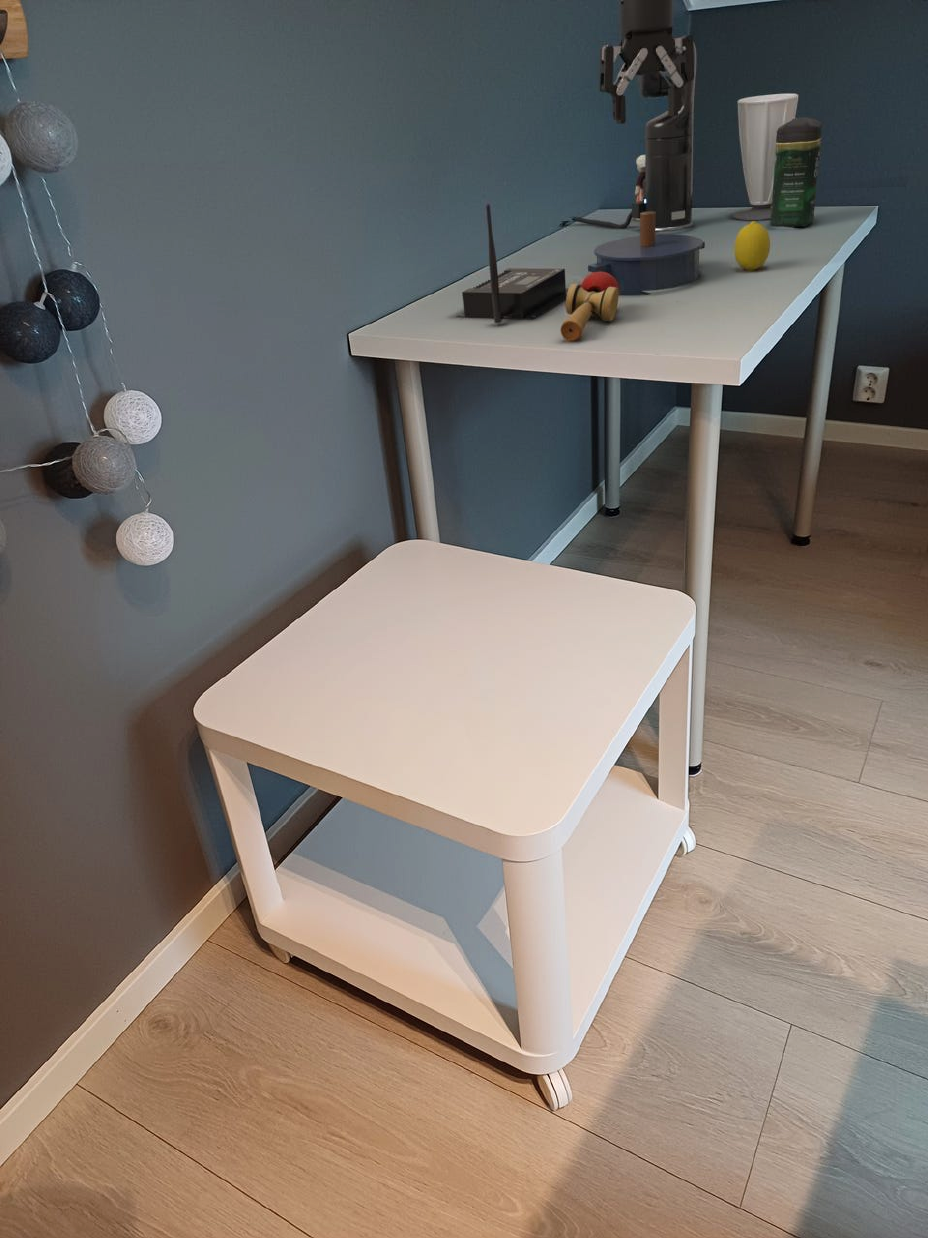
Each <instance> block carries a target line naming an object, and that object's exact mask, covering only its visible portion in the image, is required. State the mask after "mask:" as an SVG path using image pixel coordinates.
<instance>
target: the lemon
mask: <svg viewBox="0 0 928 1238" xmlns="http://www.w3.org/2000/svg"><path fill="white" fill-rule="evenodd" d="M770 250H771V240H770V234H769V232H768V230H767V229H766V227H764V226H763V225H762V224H760V223H757V220H751V221H750V222H749V224H745V225H744V226H743V227H742V228H741V229H740V231H738V233H737V235H736V238H735V242H734V249H733V251H734V259H735V261H736V263H737V265H738V266H739V267H740V268H742V269H744V270H746V271H748V272H753V271H756V270H757V269H758V268H761V267H762V266H763V265H764V264H765V263H766V262H767V260H768V257H769V255H770V252H771V251H770Z"/></svg>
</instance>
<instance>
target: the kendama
mask: <svg viewBox="0 0 928 1238" xmlns="http://www.w3.org/2000/svg"><path fill="white" fill-rule="evenodd" d="M566 293H567V295H566V296H567V298H566V300H565V311H566V313H567V315H569V317H568V318H566V320H565V321H563V322H562V324H561V326H560V334H561V337H562V338H563V339H564V340H565V341H568V342H575V341H577V340H579V339H580V338H581V335H582V333H583V330H584V329H585V327H586V325H587V323H588V321H589V318H590V316H591V314H593V315H595V314H597V315H599V317H600V318H601V319H602V321H605V322H612V321H613V320H614V318H615V316H616V313H617V310H618V305H619V295H620V294H619V286H618V283H617V281H616V280H615V278H614V277H613V276H612V275H610V274H609V273H606V272H601V271H600V272H594V273H593V272H590V273H589V274H588V275H586V277H584V279H583V280H582V281H581V283H571V284H570V285H569V287H568V291H567V292H566Z"/></svg>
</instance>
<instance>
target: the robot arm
mask: <svg viewBox="0 0 928 1238" xmlns="http://www.w3.org/2000/svg"><path fill="white" fill-rule="evenodd" d="M619 1H620V2H619V5H620V7H619V8H620V10H619V11H620V13H619V14H620V43H619V45H614V46H613V45H603V46H601V47H600V49H599V50H600V51H599V81H598V89H599V92H601V93H605V94H609V95H610V97H611V101H612V103H611V104H612V106H611V108H612V110H611V111H612V118H613V120H614V121H615V123H616V124H618V125H622V124H626V120H627V119H626V115H627V111H626V110H627V109H626V95H624V93H625V91H626V89H627V88H628V86H629V84H630V83H631V82H632V81H633V79H634V78H635V76H636V86H637V91H638V93H639V95H640V96H641V98H643V99H658V98H667V104H668V105H667V110H666V111H665V112H663V113H662V114H660V115H658V116H656V117H654V118H652V119H650V120H648V121H647V122H646V124H645V127H644V146H645V147H644V155H645V179H644V180H643V201H639V202H636V201H635V202H632V203H631V211H630V212H629V214H628V216H627V217H626V221H625V222H624V223H622V224H619V223H614V222H611V221H603V220H599V219H590V218H584V217H580V216H572V217H573V218H572V220H573V221H572V222H577V223H583V224H587V225H596V226H601V227H607V228H612V229H616V230H617V229H619V230H621V229H625V228H628V227H629V226H630V224H631V223H632V222H631V221H632V219H640V213H642V212H649V211H653V212H655V234H657V233H668V232H676V231H682V230H687V229H690V228H691V227H692V226H693V180H694V179H693V178H694V177H693V174H694V118H695V117H694V116H695V115H694V111H695V91H696V90H695V89H696V77H697V49H696V45H695V42H694V36H693V35H691V34H685V35H681V36H679V37H676V38H675V37H674V35H673V28H674V27H673V26H674V0H619ZM618 56H619V57H620V59H621V60H622V61H623V64H622V66H621V68H620V70H619V71H618V73H617V75H616V79H615V81H614V63H615V62H616V61H617V58H618ZM561 222H562V226H561V227H564V226H565V225H566V224H568V223H571V221H563V220H562V221H561Z"/></svg>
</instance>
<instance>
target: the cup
mask: <svg viewBox="0 0 928 1238" xmlns="http://www.w3.org/2000/svg"><path fill="white" fill-rule="evenodd" d="M798 103H799V94H797V93H775V94H774V93H773V94H765V95H764V94H763V95H756V96H755V95H754V96H747V97H744V98H740V99H738V100H737V119H738V120H737V121H738V133H739V134H738V137H739V146H740V153H741V163H742V169H743V176H744V182H745V188H746V192H747V196H748V201H749V204H750V206H751V209H748V210H742V211H739V212H736V213H734V214H733V215H732V218H733V219H735V220H739V221H766V220H767V221H768V220H771V207H772V195H773V180H774V166H775V150H776V136H777V130H778V128H779V127H781V126H782V125H784V124H786V123H788V122H790V121H791V120H792V119H795V118H796V113H797V107H798Z"/></svg>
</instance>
